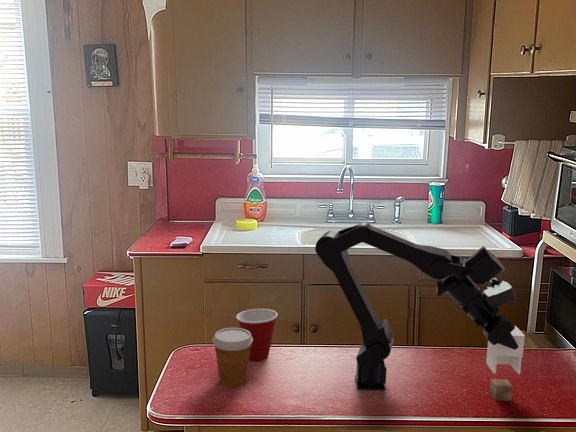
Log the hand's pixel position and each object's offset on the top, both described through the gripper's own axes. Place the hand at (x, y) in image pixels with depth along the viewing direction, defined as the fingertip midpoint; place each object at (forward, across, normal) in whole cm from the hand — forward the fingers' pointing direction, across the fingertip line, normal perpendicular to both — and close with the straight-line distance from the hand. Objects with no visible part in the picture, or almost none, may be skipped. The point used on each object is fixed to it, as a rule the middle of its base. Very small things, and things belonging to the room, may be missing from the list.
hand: (511, 342), depth 142 cm
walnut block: (+9, 0, +11) cm, 14 cm away
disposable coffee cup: (-36, +5, +55) cm, 66 cm away
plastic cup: (-32, +19, +52) cm, 64 cm away
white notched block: (+4, 0, +6) cm, 7 cm away
